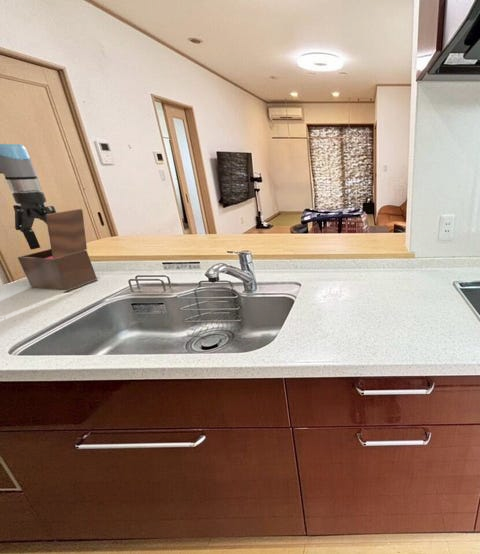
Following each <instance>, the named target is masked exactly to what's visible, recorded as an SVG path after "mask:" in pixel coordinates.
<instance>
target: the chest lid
mask: <svg viewBox="0 0 480 554" xmlns="http://www.w3.org/2000/svg"><path fill="white" fill-rule="evenodd" d="M83 211H84V210H83V209H81V208H78V209H72V210H64V211H59V212H57V213H51V214H46V220H47V224H46V226H47V231H48V237H49V244H50V249H51V250H52V256H53V258H58V257H62V256H65V255H69V254H72V253H76V252H79V251H83V250H88V247H87V238H86V237H87V236H86V229H85V221H84V212H83Z"/></svg>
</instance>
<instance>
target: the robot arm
mask: <svg viewBox="0 0 480 554" xmlns="http://www.w3.org/2000/svg"><path fill="white" fill-rule="evenodd" d="M0 174H2V175H3V176H4V178H5V181H6V183H7V186H8V189H9V191H11V192H12V194H11V195H12V197H13V199H14V202H15V203H16V204H15V205H13V206H12V208H13V211H14V229H15V230H16V231H20V232H21V233H22V234H23V236H24V238H25V240H26V242H27V245H28V247H29V249H30V250H36V249H40V248H41V245H40V243H39V241H38V238H37V236H36V233H35V231H34V230H33V226H34V222H35V219H36V220H37V219H39V221H42V222H44V223H45V224H46V225H47V220H46V214H51V213H58V212H57V211H56V209H55V207H54V206H53V205H48V206H46V205H45V203H46V202H47V199H46V196H45V193H44V192H43V191H42V186H41V183H40V181H39V179H38V175H37V173H36V170H35V168H34V165H33V162H32V158H31V156H30V155H29V153H28V150H27V148H26V147H25V146H24V145H22V144H19V143H18V144H17V143H0Z"/></svg>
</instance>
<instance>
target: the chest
mask: <svg viewBox="0 0 480 554" xmlns="http://www.w3.org/2000/svg"><path fill="white" fill-rule="evenodd" d="M49 256H52V250H51V248H48V249H45V250H40V251H36V252H32V253H29V254H25V255H21V256H18V257H17V260H18V262H19V264H20V266H21V268H22V271H23V272H24V275H25V278H26V279H27V281H28V283H29V285H30V287H31V288H33V289H48V290H60V291H61V290H62V291H64V293H71V292H73V291H77V290H78V289H80V288H83V287H85V286H89V285H90V284H93V283H96V282H98V281H99V280H98V279H97V278H98V277H97V275H96V271H95V268H94V266H93V263H92V262H91V259H90V256H89V253H88V249H86V250H83V251H79V252H76V253H72V254H69V255H65V256H62V257H59V258H55V259H52V258H46V257H49Z"/></svg>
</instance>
